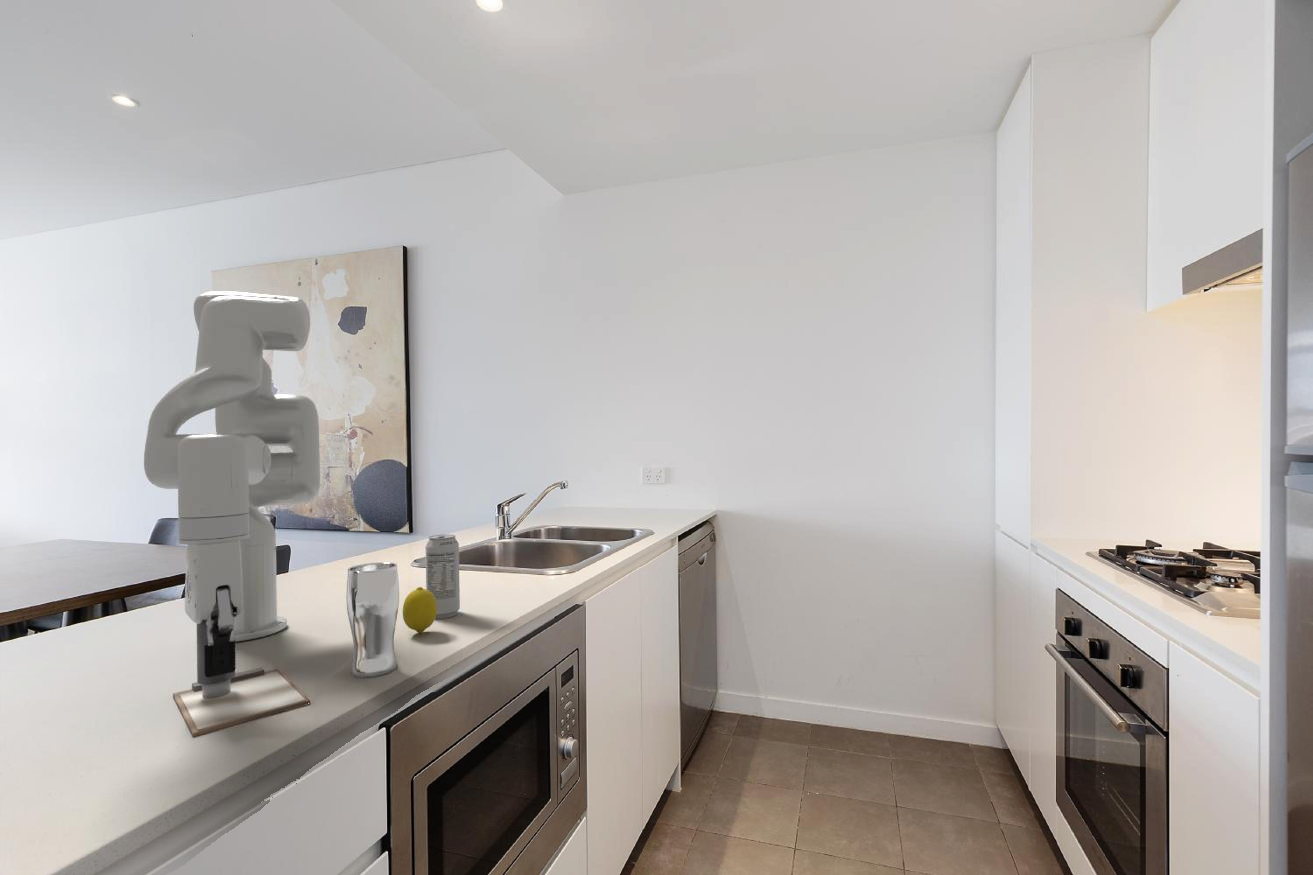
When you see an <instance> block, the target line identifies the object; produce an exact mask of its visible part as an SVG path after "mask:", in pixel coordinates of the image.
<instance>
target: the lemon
mask: <svg viewBox="0 0 1313 875" xmlns="http://www.w3.org/2000/svg"><path fill="white" fill-rule="evenodd" d="M436 614H437V605H436V600H435V597H434V595H433V594H432V593H431V592H430V591H428V590H426V588H423V587H422V586H418V587H416V589H414V590H412V591H411V592H410V593H408V594H407V596H406V597H405V599H404V602H403V605H402V618H403V622H404V623H405V625H406V626H407V628H409V629H411V630H413V631H416V633H418V634H422V633H423V632H424V631H425V630H427V629H428V628H430V627H431V626H432V625H433V624H434V622H435V620H436V619H437V618H436Z"/></svg>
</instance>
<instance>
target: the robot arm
mask: <svg viewBox="0 0 1313 875" xmlns="http://www.w3.org/2000/svg"><path fill="white" fill-rule="evenodd" d="M310 314H311V313H310V310H309V308H308V305H307V304H306V302H305V301H304V300H303V299H302V298H300V297H295V296H286V295H275V294H274V295H273V294H264V293H263V294H261V293H251V292H241V291H226V290H223V291H208V292H204V293H202V294H199V295H198V296H197V297H196V298H195V300H194V302H193V315H194V320H195V324H196V327H197V330H198V341H197V347H196V348H197V350H196V359H195V370H194V373H193V374H191V375H189V376H187V377H186V378H185V379H183V380H182V381H180V382H179V383H177V384H176V385H175V386H174V387H173V388H171V389H170V390H169V391H168V392H167V393H165V395H164V396H163V397H162V398H161V399H160V400H159V402H158V403H156V405H155V406H154V408H153V410H152V411H151V415H150V418H149V421H148V426H147V434H146V438H145V445H144V452H143V469H144V473H145V474H144V475H145V476H146V479H147V480H148V482H150V483H151V484H152V485H153V486H156V487H157V488H159V489H164V490H165V489H167V490H173V489H174V490H177V504H178V505H177V510H178V513H177V514H178V517H177V518H178V520H177V521H178V524H177V525H178V527H177V528H178V544H179V545H186V547H187V548H186V558H185V559H186V560H185V588H184V589H185V590H184V612H185V614H186V615H187V616H188V617H189V619H190V620H191V621H192V622H194V623H195V624H196V625H197V624H201V623H202V620H206V633H207V645H204V674H205V676H206V677H207V678H209V677H213V676H218V675H222V674H226V673H231V672H233V671H235V672H236V666H237V665H236V642H243V641H249V640H254V639H259V638H263V637H268V636H270V635H274V634H275V633H276V634H277V633H278V632H280V631H282V630H284V629H285V628H287V626H288V619H287V618H286V617H284V616H280V615H278V605H277V604H278V603H277V602H278V600H277V598H278V596H277V594H278V593H277V592H278V591H277V589H278V588H277V584H278V583H277V535H276V530H275V527H274V525H273V523H272V522H271V521H270V520H269V518H267V517H266V516H265V515H264V514H263V513H262V512H261V511H260V510H259V509H258V508H260V507H268V506H269V507H270V506H285V505H287V506H289V505H299V504H300V505H301V504H308V503H311V502H313V501H314V500H315V499H317V497H318V495H319V492H320V487H321V464H320V457H321V456H320V426H319V425H320V423H319V415H318V410H317V407H316V404H315V403H314V401H313V400H312V399H311V398H309V397H308V396H305V395H300V394H286V393H285V394H284V393H283V394H280V393H279V394H277V393H273V389H272V388H273V387H272V386H273V385H272V384H273V383H272V382H273V380H272V376H273V375H272V368H271V366H270V364H269V363H268V362H267V360H265V359H264V356H263V355H264V352H263V351H280V352H281V351H283V352H298V351H301V350H303V349H304V348H305V346H307V342H308V340H309V339H308V338H309V335H310V329H311V315H310ZM214 409H215V412H214V414H215V415H214V419H215V420H214V421H215V423H214V424H215V431H216V432H215V433H202V434H201V433H196V434H195V433H191V434H186V433H185V434H183V433H182V434H178V431H179V430H180V428H181V426H183V425H184V424H185V423H186V422H187V421H189V420H190V419H192V418H194V417H195V416H197V415H200V414H202V413H205V412H208V411H210V410H214ZM270 447H287V448H290V449H291V451H292V452H291V451H290V452H289V451H288V452H271V449H270ZM233 605H234V607H235V608H233ZM215 614H218V619H213V620H211V615H215ZM233 617H234V618H233ZM213 624H218V626H215V627H214V629H213ZM234 631H235V640H234Z"/></svg>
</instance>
